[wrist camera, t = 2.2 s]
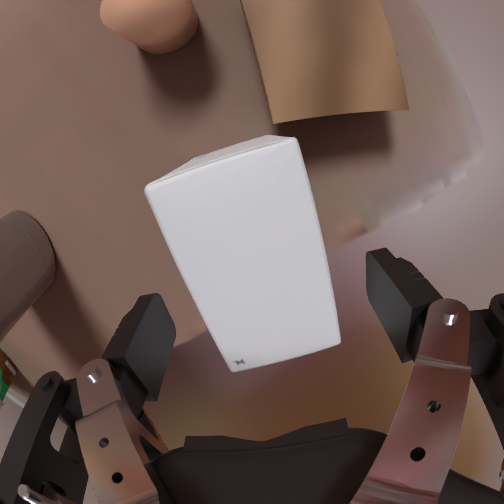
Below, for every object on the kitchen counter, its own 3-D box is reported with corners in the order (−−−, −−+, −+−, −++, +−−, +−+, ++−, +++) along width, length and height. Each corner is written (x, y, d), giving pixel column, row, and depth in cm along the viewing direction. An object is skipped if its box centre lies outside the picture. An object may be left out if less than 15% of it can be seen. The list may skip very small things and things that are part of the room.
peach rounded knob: (140, 63, 16) (104, 45, 10) (130, 14, 14) (97, -12, 8) (204, 41, 15) (189, 12, 10) (191, -7, 13) (175, -44, 8)
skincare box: (308, 257, 23) (345, 347, 13) (234, 278, 23) (226, 376, 14) (274, 131, 18) (301, 133, 9) (188, 158, 19) (134, 190, 10)
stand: (268, 124, 18) (273, 124, 15) (232, -12, 13) (229, -37, 10) (382, 110, 17) (409, 109, 14) (345, -19, 12) (361, -40, 9)
